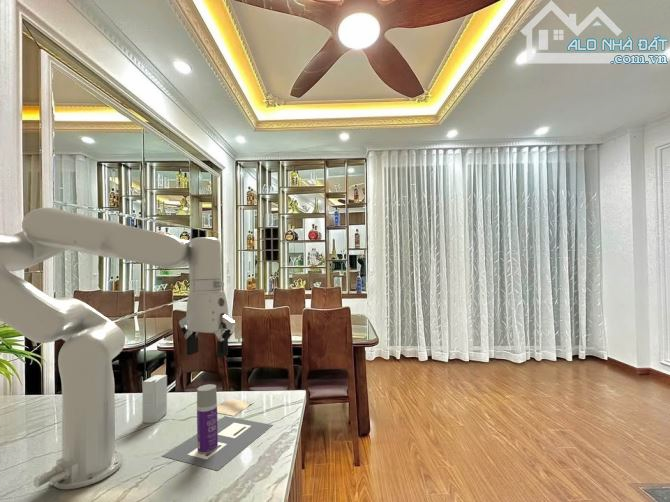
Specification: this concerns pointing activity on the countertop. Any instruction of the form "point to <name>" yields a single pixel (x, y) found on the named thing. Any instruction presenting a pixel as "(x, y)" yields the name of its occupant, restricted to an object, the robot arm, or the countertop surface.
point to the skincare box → (154, 398)
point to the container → (207, 419)
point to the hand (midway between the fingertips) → (207, 354)
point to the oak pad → (232, 407)
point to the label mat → (220, 443)
